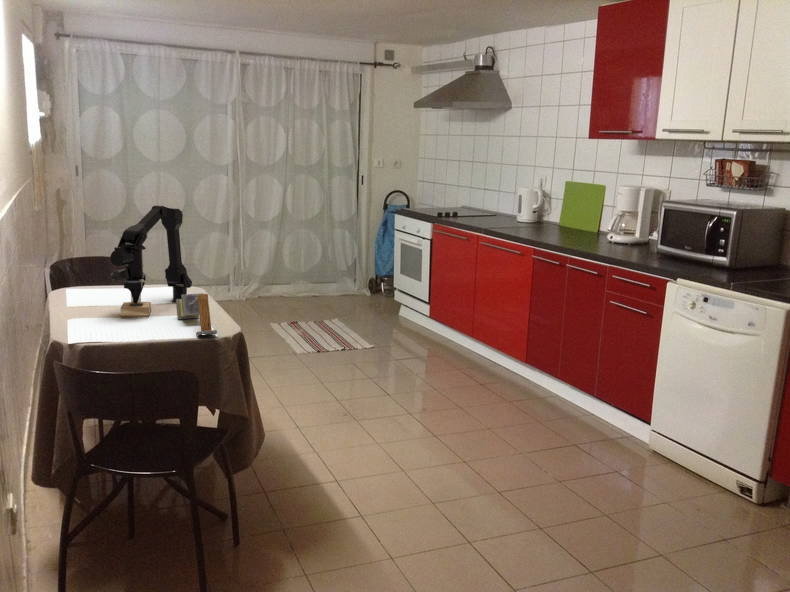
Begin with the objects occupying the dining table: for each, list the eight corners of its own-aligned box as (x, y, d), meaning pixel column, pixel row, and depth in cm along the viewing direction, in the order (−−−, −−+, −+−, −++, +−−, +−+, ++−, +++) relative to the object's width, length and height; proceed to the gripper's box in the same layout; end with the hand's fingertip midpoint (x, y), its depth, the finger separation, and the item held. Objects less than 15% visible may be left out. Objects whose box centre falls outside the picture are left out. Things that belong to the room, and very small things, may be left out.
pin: (131, 307, 269) (131, 287, 268) (141, 307, 270) (141, 287, 269) (130, 309, 266) (130, 289, 264) (140, 309, 267) (140, 289, 265)
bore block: (124, 312, 272) (123, 302, 271) (151, 311, 275) (150, 301, 274) (120, 318, 263) (120, 307, 262) (148, 317, 265) (148, 307, 264)
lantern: (180, 344, 263) (197, 334, 237) (175, 299, 265) (192, 285, 239) (200, 342, 267) (219, 332, 241) (196, 298, 269) (214, 284, 243)
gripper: (115, 258, 271) (117, 297, 275) (108, 266, 254) (110, 308, 257) (145, 258, 274) (146, 297, 277) (140, 266, 256) (142, 307, 260)
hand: (136, 302), depth 268 cm, fingers closed on pin, 4 cm apart
